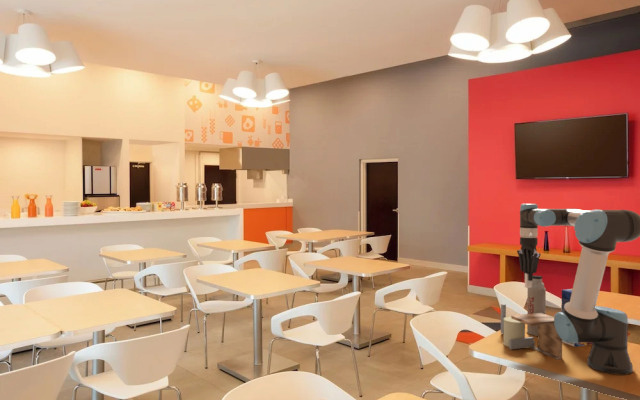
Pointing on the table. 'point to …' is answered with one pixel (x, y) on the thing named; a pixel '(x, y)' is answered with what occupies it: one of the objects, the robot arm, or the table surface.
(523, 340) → the slider
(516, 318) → the brown angular piece
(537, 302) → the thermos bottle
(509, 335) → the can
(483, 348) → the table surface
